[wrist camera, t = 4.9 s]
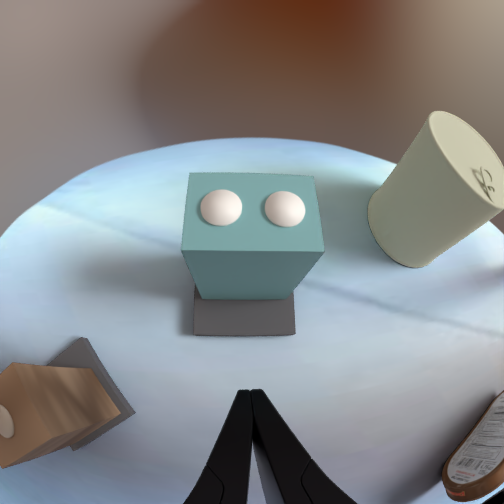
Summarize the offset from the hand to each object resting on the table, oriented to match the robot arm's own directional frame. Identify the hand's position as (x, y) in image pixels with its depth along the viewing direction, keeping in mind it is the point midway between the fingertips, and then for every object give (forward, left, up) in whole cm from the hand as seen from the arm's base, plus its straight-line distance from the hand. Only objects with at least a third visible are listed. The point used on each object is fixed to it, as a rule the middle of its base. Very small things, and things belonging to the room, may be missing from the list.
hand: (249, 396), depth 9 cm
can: (+17, -13, -11) cm, 24 cm away
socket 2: (+6, +1, -11) cm, 12 cm away
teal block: (+8, +2, -9) cm, 12 cm away
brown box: (-6, +11, -9) cm, 16 cm away
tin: (-4, -26, -11) cm, 28 cm away
